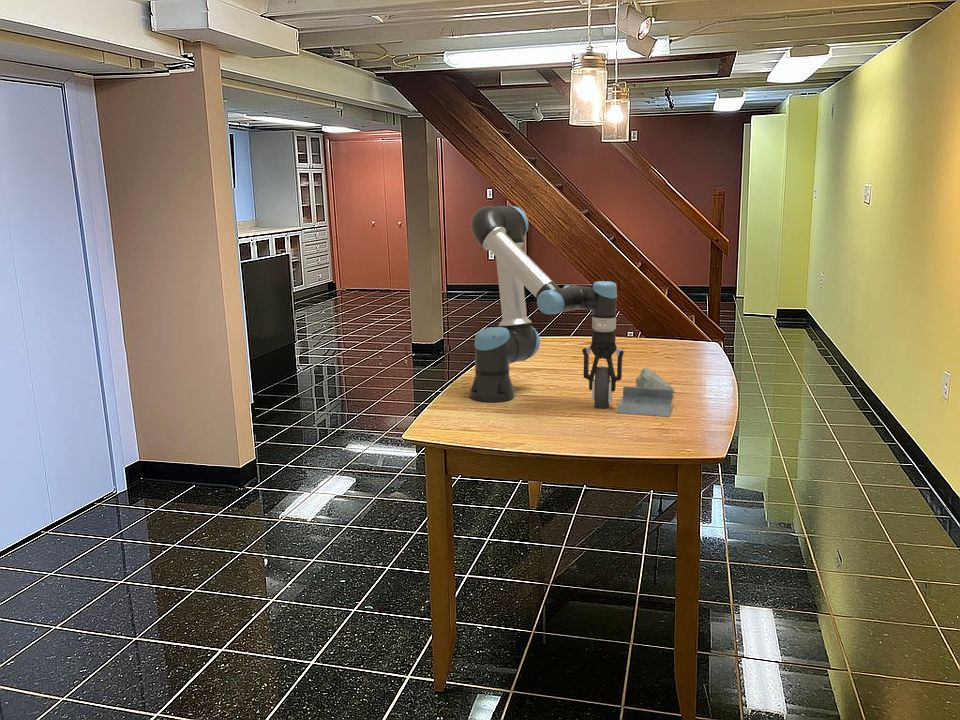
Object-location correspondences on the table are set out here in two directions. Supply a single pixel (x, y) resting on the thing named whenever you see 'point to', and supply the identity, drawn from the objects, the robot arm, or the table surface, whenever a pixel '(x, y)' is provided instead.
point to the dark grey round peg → (602, 387)
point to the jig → (646, 401)
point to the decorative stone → (651, 380)
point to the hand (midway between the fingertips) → (601, 400)
